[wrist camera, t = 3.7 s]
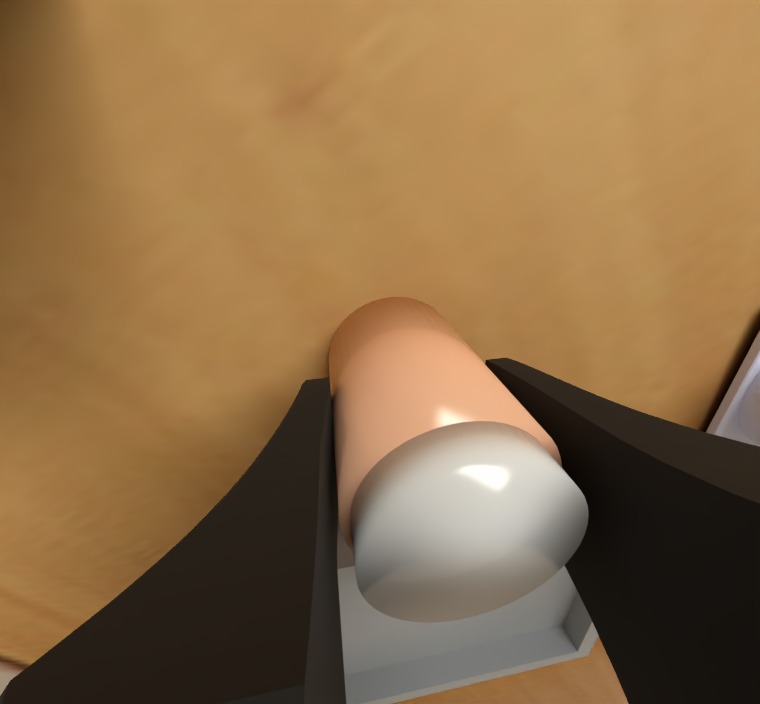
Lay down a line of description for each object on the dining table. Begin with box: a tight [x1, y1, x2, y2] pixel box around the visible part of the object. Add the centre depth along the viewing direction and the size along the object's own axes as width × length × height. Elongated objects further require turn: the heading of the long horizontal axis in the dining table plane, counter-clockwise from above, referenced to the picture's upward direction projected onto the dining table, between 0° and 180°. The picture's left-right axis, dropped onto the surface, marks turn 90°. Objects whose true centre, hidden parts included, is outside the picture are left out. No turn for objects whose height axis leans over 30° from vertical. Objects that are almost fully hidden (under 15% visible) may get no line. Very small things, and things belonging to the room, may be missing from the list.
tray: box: [337, 523, 599, 704], centre depth 18 cm, size 18×14×2 cm
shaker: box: [328, 297, 589, 623], centre depth 9 cm, size 4×4×7 cm
